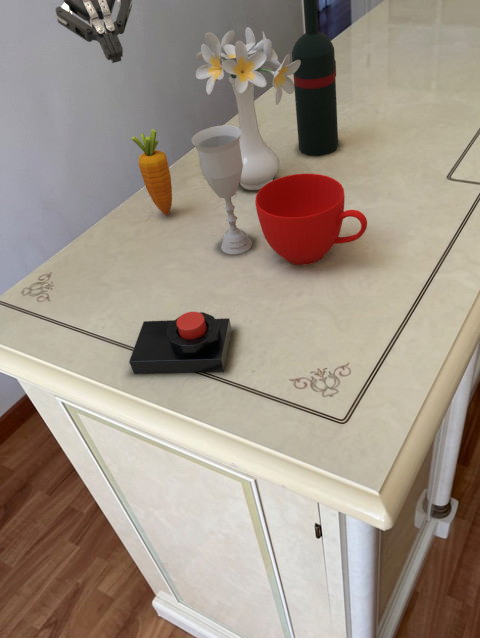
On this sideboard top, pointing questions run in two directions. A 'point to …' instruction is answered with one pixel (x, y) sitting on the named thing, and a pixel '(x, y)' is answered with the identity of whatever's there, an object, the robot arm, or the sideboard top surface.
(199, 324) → the red short cylinder
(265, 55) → the flower vase
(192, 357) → the black flat block
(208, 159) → the chalice
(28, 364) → the sideboard top surface
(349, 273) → the sideboard top surface
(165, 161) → the carrot
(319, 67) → the wine bottle
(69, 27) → the robot arm
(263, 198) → the ceramic cup
